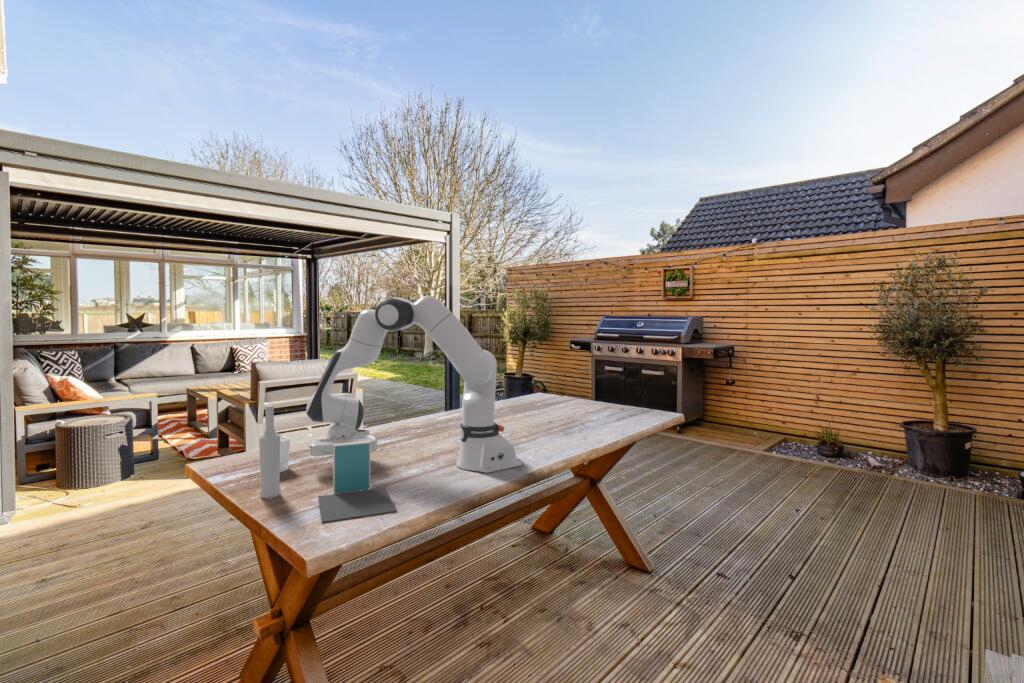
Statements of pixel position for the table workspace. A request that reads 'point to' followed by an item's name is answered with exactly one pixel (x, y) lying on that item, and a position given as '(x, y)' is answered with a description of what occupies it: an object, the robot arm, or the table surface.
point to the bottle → (269, 457)
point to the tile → (351, 467)
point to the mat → (355, 505)
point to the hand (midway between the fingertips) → (346, 452)
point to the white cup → (284, 452)
